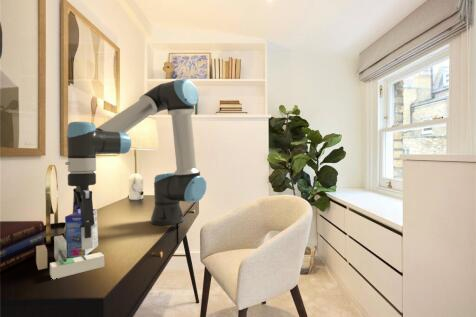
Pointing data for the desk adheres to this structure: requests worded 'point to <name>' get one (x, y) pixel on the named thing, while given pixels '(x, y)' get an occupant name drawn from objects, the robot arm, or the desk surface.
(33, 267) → the desk surface
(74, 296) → the desk surface
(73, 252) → the ink cartridge box
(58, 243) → the block
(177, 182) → the robot arm
